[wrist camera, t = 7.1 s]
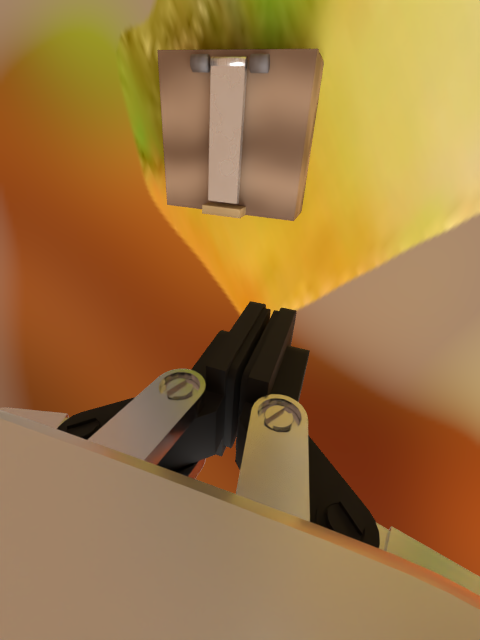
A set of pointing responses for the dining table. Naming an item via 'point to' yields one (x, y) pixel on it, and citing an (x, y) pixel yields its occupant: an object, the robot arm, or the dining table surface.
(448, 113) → the dining table surface
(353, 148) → the dining table surface
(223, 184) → the steel strap
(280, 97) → the walnut box
